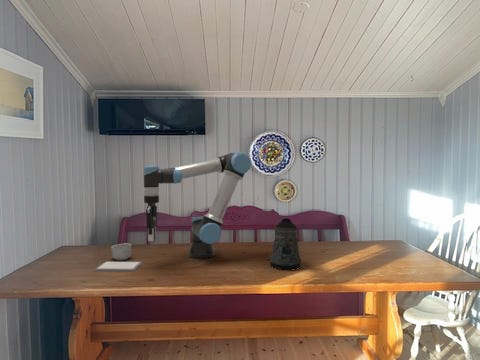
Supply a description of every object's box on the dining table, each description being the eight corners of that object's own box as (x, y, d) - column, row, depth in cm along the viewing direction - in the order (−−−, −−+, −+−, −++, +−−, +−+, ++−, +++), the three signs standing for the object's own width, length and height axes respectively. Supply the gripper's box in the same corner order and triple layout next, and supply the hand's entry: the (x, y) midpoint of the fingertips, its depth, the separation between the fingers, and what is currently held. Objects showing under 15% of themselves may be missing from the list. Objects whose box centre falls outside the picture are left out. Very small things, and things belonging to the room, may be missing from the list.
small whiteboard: (142, 263, 190) (142, 261, 190) (134, 271, 176) (133, 269, 176) (105, 263, 190) (105, 261, 190) (94, 270, 176) (94, 268, 176)
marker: (156, 241, 185) (156, 216, 185) (154, 242, 182) (154, 217, 181) (149, 241, 185) (149, 216, 185) (147, 242, 182) (147, 217, 181)
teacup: (125, 262, 192) (125, 247, 192) (107, 261, 195) (107, 246, 194) (137, 255, 206) (137, 242, 206) (120, 254, 208) (120, 241, 208)
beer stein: (274, 271, 176) (274, 222, 175) (265, 261, 195) (265, 216, 194) (305, 270, 179) (306, 221, 178) (293, 260, 198) (294, 216, 197)
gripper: (148, 193, 191) (149, 236, 192) (139, 196, 174) (140, 243, 175) (162, 193, 191) (162, 236, 192) (154, 196, 174) (155, 243, 175)
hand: (152, 239), depth 183 cm, fingers closed on marker, 4 cm apart
